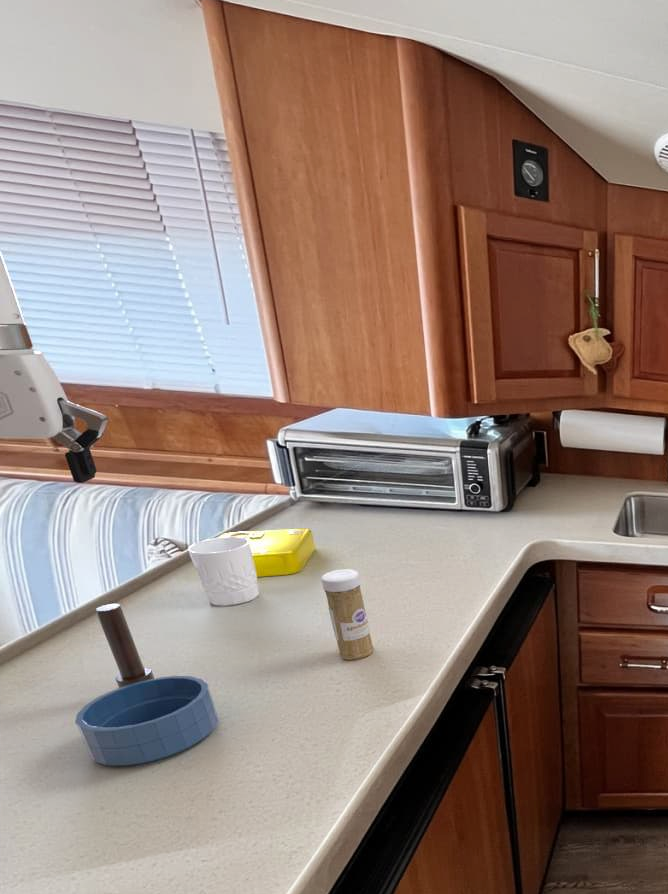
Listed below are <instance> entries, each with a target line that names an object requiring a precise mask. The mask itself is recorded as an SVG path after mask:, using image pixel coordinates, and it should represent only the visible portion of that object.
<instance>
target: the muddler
mask: <svg viewBox="0 0 668 894" xmlns="http://www.w3.org/2000/svg"><path fill="white" fill-rule="evenodd" d="M95 613H96V617H97V618H98V621H99V624H100V625H101V628H102V631H103V634H104V636H105V638H106V641H107V643H108V646H109V648H110V651H111V653H112V656H113V659H114V661H115V663H116V666H117V668H118V671H119V674H118V675H117V676H116V677H115V682H116V684H117V687H118V688H121V687H124V686H127V685H130V684H133V683H136V682H140V681H145V680H149V679H154V678H155V676H154V673H153V671H152V669H151V668H149V667H144V665H143V662H142V659H141V656H140V654H139V651H138V649H137V646H136V643H135V641H134V639H133V635H132V633H131V630H130V626H129V624H128V621H127V620H126V617H125V614H124V611H123V609H122V606H121V604H120V603H108V604H107V603H106V604H103V605H100V606H97V607H96V608H95Z"/></svg>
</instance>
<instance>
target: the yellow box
mask: <svg viewBox="0 0 668 894" xmlns="http://www.w3.org/2000/svg"><path fill="white" fill-rule="evenodd" d="M221 537H242V538H246V539H248V540H249V541H250V545H251V550H252V555H253V560H254V564H255V569H256V576H257V578H263V577H278V576H289V575H294V574H298V573H299V572H301V571H302V570H303V569H304V568H305V566H306V565H307V563H308V561H309V559H310V558H311V557H312V555H313V554H314V552H315V550H316V545H315V540H314V537H313V531H312V530H311V529H310V528H291V529H273V530H272V529H271V530H256V531H255V530H253V531H244V530H243V531H234V532H225V533H223V534H221V535H220V536H218V537H217V538H221Z"/></svg>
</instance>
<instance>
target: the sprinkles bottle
mask: <svg viewBox="0 0 668 894" xmlns="http://www.w3.org/2000/svg"><path fill="white" fill-rule="evenodd" d="M361 583H362V581H361V577H360V574H359V572H358V571H357V570H354V569H345V568H343V569H336V570H332V571H329V572H326V573H324V574H323V575H322V576H321V585H322V589H323V590H324V591H323V592H324V593H325V596H326V599H327V600H326V601H327V605H328V612H329V617H330V620H331V625H332V629H333V633H334V637H335V639H336V643H337V648H338V656H339V657H340V658H341V659H342V660H349V661H351V660H358V659H362V658H365V657H367V656H370V655H371V654H372V653H373V652H374V649H375V648H374V645H373V642H372V638H371V632H370V631H371V630H370V625H369V621H368V616H367V612H366V609H365V603H364V598H363V594H362V589H361Z"/></svg>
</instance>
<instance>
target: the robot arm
mask: <svg viewBox="0 0 668 894" xmlns="http://www.w3.org/2000/svg"><path fill="white" fill-rule="evenodd" d="M75 419H79V420H81V421H84V422H85V423H86V428H85V431H83V432H82V433H81V432H80V431H79V430H78V429H76V420H75ZM108 422H109V418H108V416H107V415H105V414H103V413H100V412H97V411H95V410H92V409H90V408H88V407H87V408H86V407H84V406H82V405H79V404H76V403H73V402H71V401H69V399H68V397H67V395H66V393H65V390H64V388H63V387H62V384H61V382H60V380H59V378H58V376H57V374H56V372H55V371H54V369H53V367H52V366H51V364H50V362H49V361H48V359H47V358H46V357H45V355H44V354H43V352H42V351H38V350H35V348H34V345H33V342H32V339H31V336H30V333H29V330H28V328H27V324H26V322H25V319H24V316H23V313H22V310H21V307H20V303H19V300H18V298H17V294H16V293H15V289H14V287H13V283H12V280H11V277H10V275H9V272H8V268H7V265H6V263H5V260H4V257H3V255H2V251H1V250H0V439H17V440H18V439H23V440H24V439H25V440H27V439H28V440H31V439H33V440H34V439H35V440H38V439H41V440H43V439H49V438H51V439H53V440H54V441H56V442H58V443H59V444H60V445H62V446H63V447H65V448H66V449H68V451H67V452H64V456H65V459H66V462H67V465H68V468H69V471H70V474H71V477H72V480H73V482H74V483H77V484H84V483H86V482H88V481H91V480H92V479H95V477H96V473H97V467H96V463H95V461H94V458H93V454H92V452H91V449H90V448H93V447H94V445H95V444H96V443H97V442H98V441H99V440H100V439H101V438H102V437H103V436H104V431H105V429H106V426H107V423H108Z"/></svg>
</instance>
